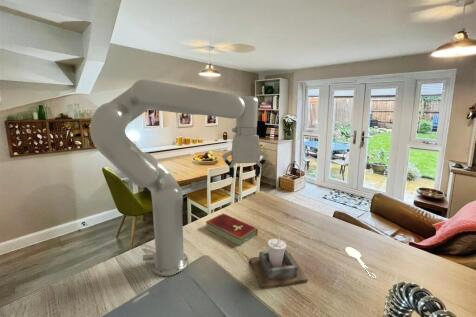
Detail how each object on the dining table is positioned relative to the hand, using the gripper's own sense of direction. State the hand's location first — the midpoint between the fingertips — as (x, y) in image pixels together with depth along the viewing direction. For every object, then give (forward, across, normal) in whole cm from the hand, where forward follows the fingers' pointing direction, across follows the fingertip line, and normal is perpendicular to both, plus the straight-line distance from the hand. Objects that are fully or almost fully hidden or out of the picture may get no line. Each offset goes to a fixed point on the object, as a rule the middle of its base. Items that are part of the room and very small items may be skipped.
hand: (244, 176), depth 89 cm
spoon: (+31, +42, -16) cm, 55 cm away
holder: (+30, +9, -16) cm, 35 cm away
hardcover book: (+31, -2, +12) cm, 33 cm away
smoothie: (+29, +8, -16) cm, 34 cm away
